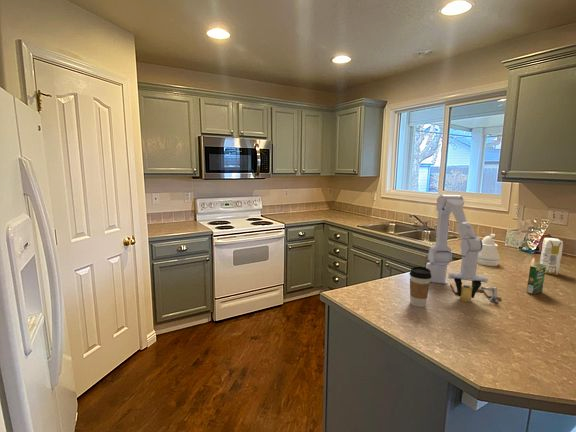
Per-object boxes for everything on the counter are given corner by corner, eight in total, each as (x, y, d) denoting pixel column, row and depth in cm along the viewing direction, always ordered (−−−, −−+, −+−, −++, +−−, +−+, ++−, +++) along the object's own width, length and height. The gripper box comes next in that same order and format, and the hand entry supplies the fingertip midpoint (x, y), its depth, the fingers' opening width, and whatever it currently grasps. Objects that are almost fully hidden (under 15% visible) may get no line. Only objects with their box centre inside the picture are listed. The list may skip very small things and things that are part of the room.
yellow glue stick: (460, 301, 136) (461, 286, 135) (458, 297, 140) (459, 283, 139) (472, 302, 134) (473, 288, 133) (469, 298, 139) (471, 284, 138)
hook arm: (480, 300, 137) (482, 287, 136) (478, 297, 140) (480, 284, 139) (498, 302, 135) (500, 289, 134) (496, 300, 138) (497, 286, 137)
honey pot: (497, 262, 196) (501, 233, 193) (498, 267, 185) (502, 237, 183) (473, 258, 203) (477, 230, 200) (472, 263, 192) (476, 234, 189)
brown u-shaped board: (455, 294, 143) (455, 292, 143) (450, 285, 154) (450, 282, 154) (501, 300, 137) (501, 297, 137) (492, 290, 149) (492, 287, 149)
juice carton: (542, 273, 175) (547, 240, 173) (537, 269, 183) (542, 237, 180) (559, 275, 173) (565, 241, 170) (553, 271, 181) (558, 238, 178)
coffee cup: (427, 301, 134) (431, 267, 132) (429, 309, 126) (433, 273, 124) (406, 298, 137) (409, 265, 135) (407, 306, 129) (410, 271, 127)
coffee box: (532, 295, 144) (536, 267, 142) (525, 292, 147) (529, 265, 145) (542, 292, 148) (546, 265, 146) (535, 290, 150) (539, 263, 148)
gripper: (451, 266, 133) (448, 297, 135) (491, 270, 129) (487, 302, 131) (448, 262, 140) (445, 291, 142) (486, 265, 136) (482, 295, 138)
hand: (465, 296), depth 137 cm, fingers closed on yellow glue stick, 4 cm apart
